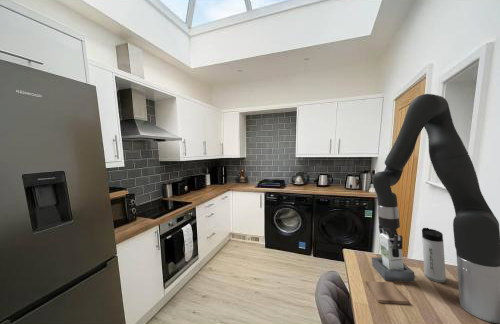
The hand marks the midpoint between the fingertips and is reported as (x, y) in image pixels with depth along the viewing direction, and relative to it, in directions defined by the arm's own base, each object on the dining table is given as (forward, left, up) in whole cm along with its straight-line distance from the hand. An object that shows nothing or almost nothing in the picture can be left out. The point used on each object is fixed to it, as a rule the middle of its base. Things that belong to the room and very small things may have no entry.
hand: (391, 252), depth 80 cm
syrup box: (0, 0, -7) cm, 7 cm away
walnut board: (+9, +13, -9) cm, 18 cm away
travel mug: (-15, +2, -9) cm, 18 cm away
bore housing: (0, 0, -9) cm, 9 cm away
